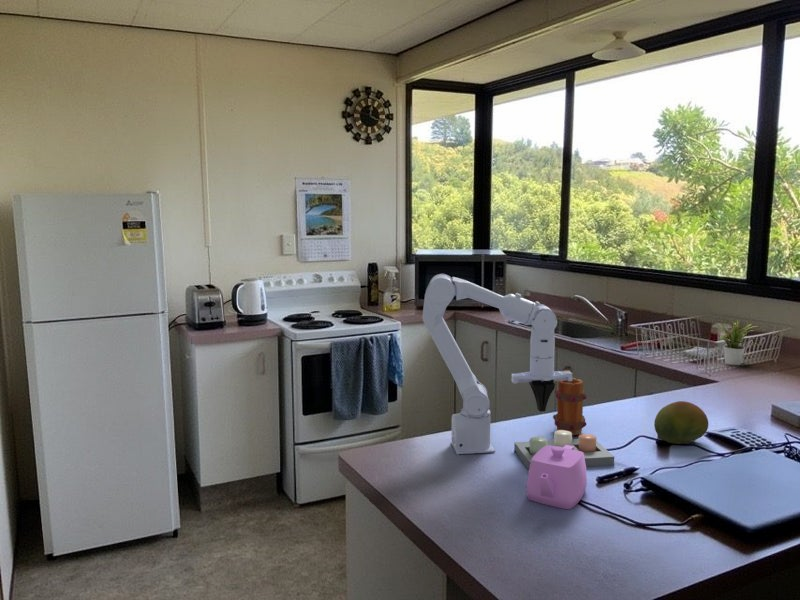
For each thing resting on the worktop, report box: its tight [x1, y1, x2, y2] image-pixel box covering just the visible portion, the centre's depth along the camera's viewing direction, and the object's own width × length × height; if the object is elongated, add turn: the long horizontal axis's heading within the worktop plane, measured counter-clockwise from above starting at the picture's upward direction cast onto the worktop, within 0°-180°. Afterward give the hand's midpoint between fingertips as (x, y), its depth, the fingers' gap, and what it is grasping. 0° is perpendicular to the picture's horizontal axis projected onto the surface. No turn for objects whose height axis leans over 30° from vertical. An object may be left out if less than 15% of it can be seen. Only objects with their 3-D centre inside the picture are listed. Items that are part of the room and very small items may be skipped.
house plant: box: [717, 319, 759, 366], centre depth 233 cm, size 14×14×16 cm
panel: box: [513, 438, 615, 470], centre depth 152 cm, size 20×12×2 cm, turn 96°
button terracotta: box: [578, 433, 597, 452], centre depth 152 cm, size 4×4×4 cm
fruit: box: [653, 400, 710, 445], centre depth 159 cm, size 12×13×10 cm
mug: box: [552, 369, 587, 437], centre depth 169 cm, size 15×8×15 cm, turn 173°
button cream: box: [553, 430, 573, 448], centre depth 151 cm, size 4×4×4 cm
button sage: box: [529, 436, 548, 455], centre depth 151 cm, size 4×4×4 cm
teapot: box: [526, 445, 588, 510], centre depth 131 cm, size 18×10×10 cm, turn 148°
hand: (541, 410), depth 156 cm, fingers closed
